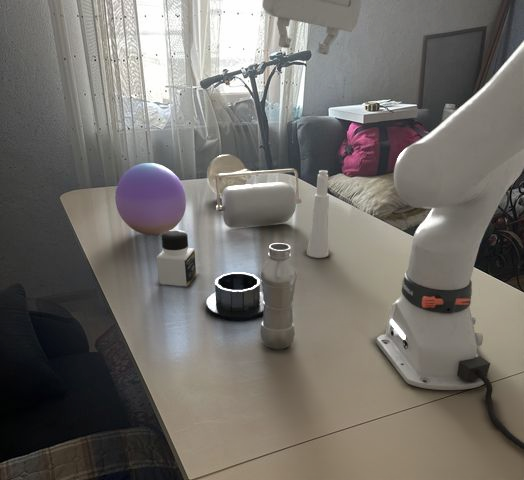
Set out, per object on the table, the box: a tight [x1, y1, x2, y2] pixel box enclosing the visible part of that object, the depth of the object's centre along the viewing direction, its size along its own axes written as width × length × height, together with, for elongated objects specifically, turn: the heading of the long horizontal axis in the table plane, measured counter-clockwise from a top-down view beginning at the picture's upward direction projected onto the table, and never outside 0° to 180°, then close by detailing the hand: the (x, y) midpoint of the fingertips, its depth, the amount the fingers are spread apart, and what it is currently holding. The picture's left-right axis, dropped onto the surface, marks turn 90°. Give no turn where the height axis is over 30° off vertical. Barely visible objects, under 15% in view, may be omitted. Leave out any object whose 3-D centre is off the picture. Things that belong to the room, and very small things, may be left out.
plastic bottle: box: [259, 242, 298, 350], centre depth 95 cm, size 6×7×20 cm
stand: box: [205, 272, 264, 323], centre depth 112 cm, size 14×14×6 cm
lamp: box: [206, 154, 302, 229], centre depth 167 cm, size 27×23×40 cm
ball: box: [114, 162, 187, 237], centre depth 147 cm, size 20×20×20 cm
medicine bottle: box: [156, 229, 197, 288], centre depth 122 cm, size 7×7×12 cm
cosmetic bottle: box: [306, 169, 330, 259], centre depth 134 cm, size 6×6×22 cm
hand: (303, 50), depth 101 cm, fingers open, 8 cm apart
